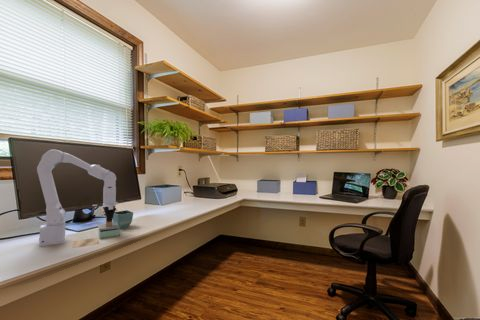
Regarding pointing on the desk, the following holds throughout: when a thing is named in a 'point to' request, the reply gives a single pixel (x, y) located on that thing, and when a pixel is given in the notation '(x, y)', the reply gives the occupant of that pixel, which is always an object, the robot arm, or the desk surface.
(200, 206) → the desk surface
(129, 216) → the flower pot
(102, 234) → the dish
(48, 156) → the robot arm
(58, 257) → the desk surface
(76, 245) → the mat
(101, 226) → the lid
